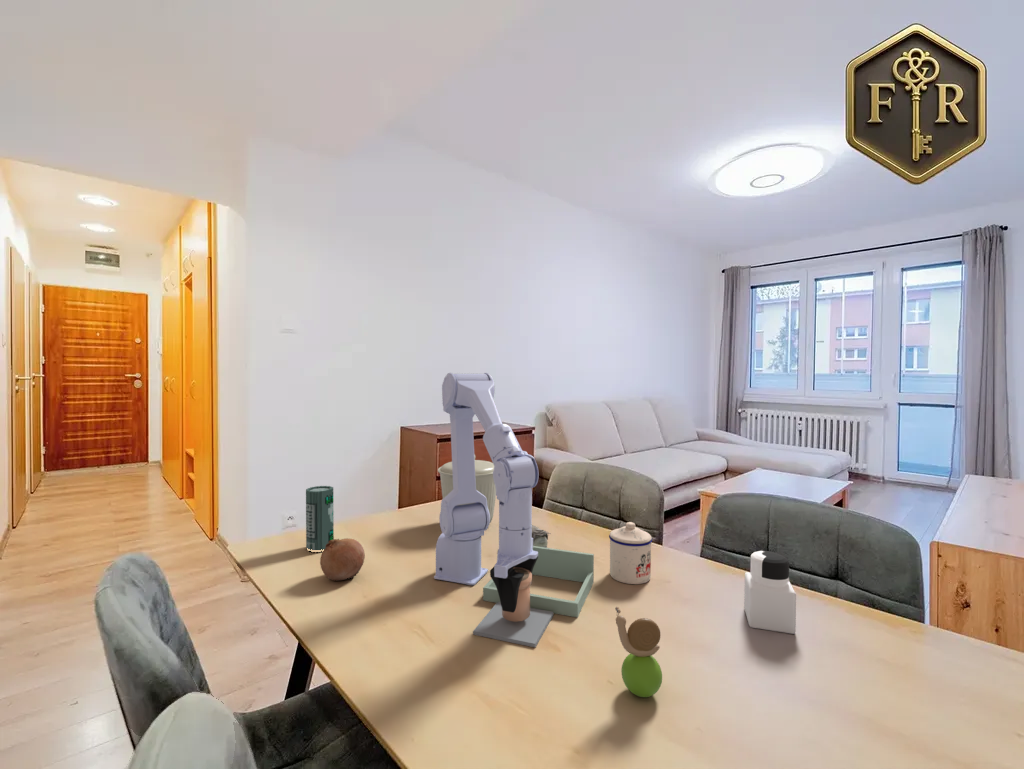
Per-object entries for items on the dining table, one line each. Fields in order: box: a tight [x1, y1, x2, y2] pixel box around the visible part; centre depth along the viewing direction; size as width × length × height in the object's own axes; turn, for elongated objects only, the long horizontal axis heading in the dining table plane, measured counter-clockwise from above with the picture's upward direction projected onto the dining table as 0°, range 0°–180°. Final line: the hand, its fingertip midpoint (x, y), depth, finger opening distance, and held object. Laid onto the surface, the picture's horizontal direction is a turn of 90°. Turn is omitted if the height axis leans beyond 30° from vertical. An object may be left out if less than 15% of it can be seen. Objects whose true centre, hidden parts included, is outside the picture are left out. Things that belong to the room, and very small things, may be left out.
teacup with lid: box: [608, 521, 653, 585], centre depth 105 cm, size 12×9×12 cm
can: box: [305, 485, 335, 550], centre depth 120 cm, size 6×6×15 cm
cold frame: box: [482, 546, 595, 619], centre depth 97 cm, size 19×16×6 cm
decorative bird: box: [532, 524, 552, 548], centre depth 117 cm, size 6×17×8 cm, turn 24°
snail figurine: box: [615, 606, 663, 698], centre depth 66 cm, size 5×6×12 cm
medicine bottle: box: [743, 550, 797, 635], centre depth 85 cm, size 7×7×12 cm
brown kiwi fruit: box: [319, 537, 366, 582], centre depth 103 cm, size 9×9×10 cm
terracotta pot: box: [502, 567, 533, 622], centre depth 84 cm, size 6×6×7 cm
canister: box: [437, 453, 497, 524], centre depth 138 cm, size 18×18×21 cm
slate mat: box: [472, 602, 555, 648], centre depth 84 cm, size 11×11×1 cm
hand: (514, 602), depth 84 cm, fingers closed on terracotta pot, 6 cm apart
